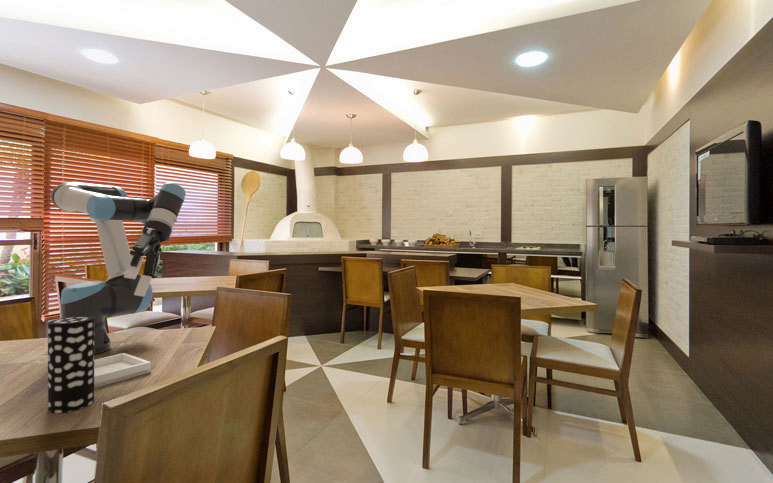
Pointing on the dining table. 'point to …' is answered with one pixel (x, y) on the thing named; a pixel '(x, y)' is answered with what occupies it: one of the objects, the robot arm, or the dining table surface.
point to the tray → (118, 368)
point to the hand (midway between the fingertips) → (134, 287)
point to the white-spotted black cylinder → (70, 363)
